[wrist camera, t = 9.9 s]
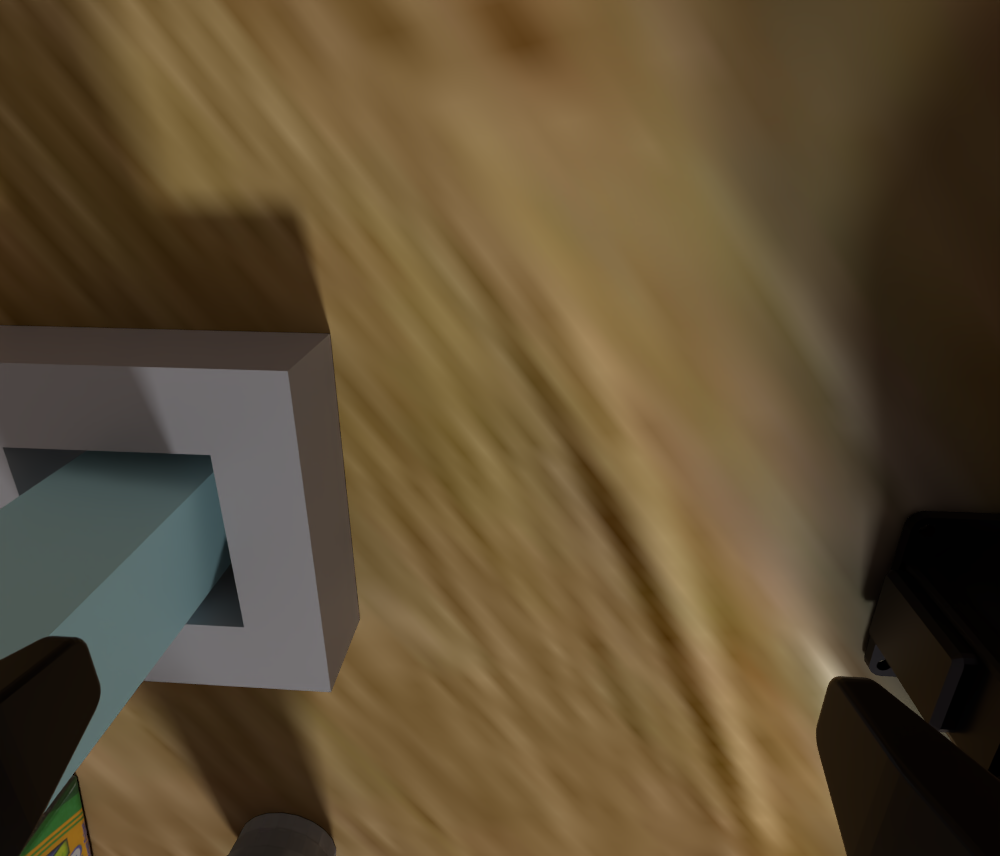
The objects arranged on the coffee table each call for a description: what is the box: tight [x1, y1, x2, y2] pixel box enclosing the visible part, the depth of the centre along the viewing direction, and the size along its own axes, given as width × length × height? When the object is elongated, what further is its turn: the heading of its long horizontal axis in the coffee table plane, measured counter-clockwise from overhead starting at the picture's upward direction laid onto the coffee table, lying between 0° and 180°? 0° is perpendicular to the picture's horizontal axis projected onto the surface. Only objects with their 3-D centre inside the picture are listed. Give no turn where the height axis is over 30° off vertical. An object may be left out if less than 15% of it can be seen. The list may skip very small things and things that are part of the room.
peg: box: [0, 450, 231, 814], centre depth 17 cm, size 4×4×13 cm
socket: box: [0, 325, 360, 692], centre depth 21 cm, size 11×11×4 cm
